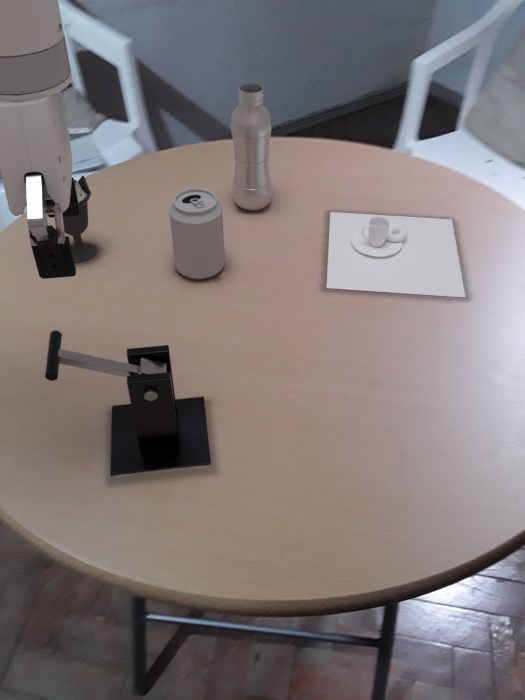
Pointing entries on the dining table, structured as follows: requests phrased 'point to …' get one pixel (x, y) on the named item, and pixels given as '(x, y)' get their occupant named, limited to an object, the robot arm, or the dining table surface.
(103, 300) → the dining table surface
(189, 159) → the dining table surface
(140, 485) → the dining table surface
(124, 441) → the black lever stand
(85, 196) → the sundae
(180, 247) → the can
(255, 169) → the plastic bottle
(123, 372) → the lever handle
